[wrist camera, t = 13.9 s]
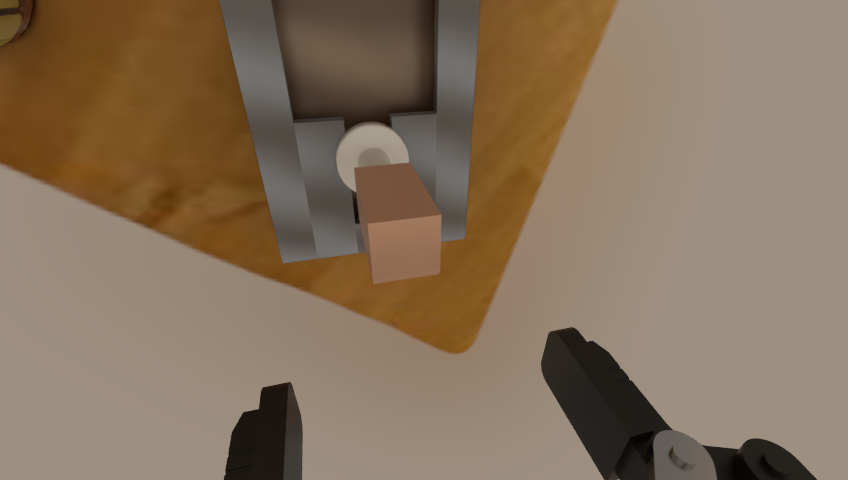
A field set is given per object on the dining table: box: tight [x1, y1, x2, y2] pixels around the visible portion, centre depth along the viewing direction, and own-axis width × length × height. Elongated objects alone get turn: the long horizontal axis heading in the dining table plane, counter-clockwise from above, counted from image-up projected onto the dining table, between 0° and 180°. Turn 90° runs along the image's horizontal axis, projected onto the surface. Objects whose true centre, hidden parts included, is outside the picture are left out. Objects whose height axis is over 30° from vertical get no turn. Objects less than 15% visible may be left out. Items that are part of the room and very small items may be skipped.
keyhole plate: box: [219, 0, 480, 263], centre depth 26 cm, size 20×14×5 cm
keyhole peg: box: [336, 122, 442, 284], centre depth 21 cm, size 5×5×12 cm
